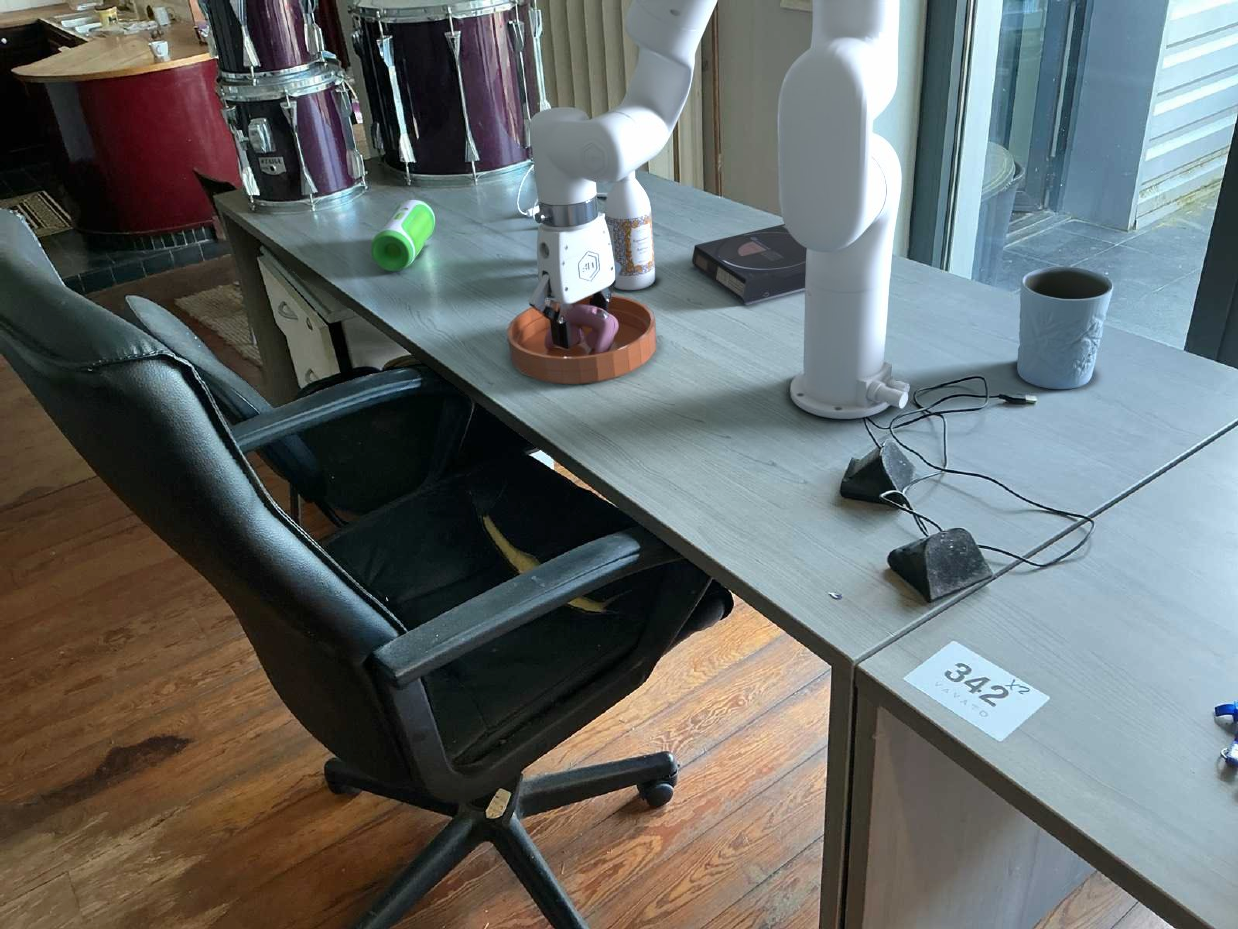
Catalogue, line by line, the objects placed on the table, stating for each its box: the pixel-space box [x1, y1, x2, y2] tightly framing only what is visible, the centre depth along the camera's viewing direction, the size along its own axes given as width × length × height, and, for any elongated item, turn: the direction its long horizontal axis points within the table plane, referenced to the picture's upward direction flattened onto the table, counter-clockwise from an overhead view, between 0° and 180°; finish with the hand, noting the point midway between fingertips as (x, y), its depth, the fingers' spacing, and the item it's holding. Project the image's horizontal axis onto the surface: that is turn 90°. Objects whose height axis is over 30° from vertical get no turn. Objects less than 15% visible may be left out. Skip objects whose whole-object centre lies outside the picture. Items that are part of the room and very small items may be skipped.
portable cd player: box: [691, 223, 807, 306], centre depth 160 cm, size 16×17×4 cm
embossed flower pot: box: [1016, 266, 1114, 390], centre depth 125 cm, size 10×10×12 cm
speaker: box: [371, 199, 436, 273], centre depth 178 cm, size 18×7×8 cm, turn 175°
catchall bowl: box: [506, 294, 658, 385], centre depth 143 cm, size 20×20×4 cm
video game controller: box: [545, 304, 618, 354], centre depth 142 cm, size 10×5×7 cm, turn 58°
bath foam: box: [604, 170, 656, 291], centre depth 157 cm, size 7×7×20 cm
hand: (582, 335), depth 142 cm, fingers closed on video game controller, 6 cm apart
